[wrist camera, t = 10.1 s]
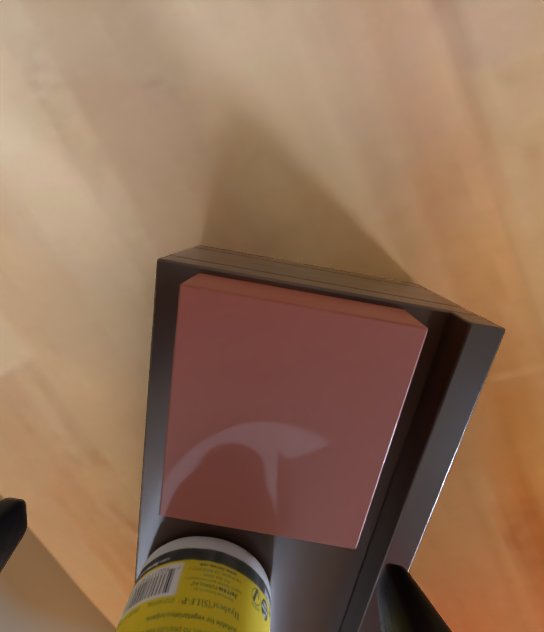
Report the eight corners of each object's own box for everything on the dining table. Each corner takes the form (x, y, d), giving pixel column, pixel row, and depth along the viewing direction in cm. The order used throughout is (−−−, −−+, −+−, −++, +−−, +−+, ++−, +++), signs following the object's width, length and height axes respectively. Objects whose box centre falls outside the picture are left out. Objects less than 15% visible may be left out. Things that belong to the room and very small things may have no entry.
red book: (405, 309, 10) (429, 327, 8) (346, 503, 12) (356, 550, 10) (196, 271, 10) (177, 283, 8) (175, 473, 12) (156, 515, 10)
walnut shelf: (419, 284, 15) (507, 329, 9) (323, 595, 21) (337, 749, 15) (198, 244, 15) (138, 263, 9) (165, 567, 20) (115, 710, 15)
